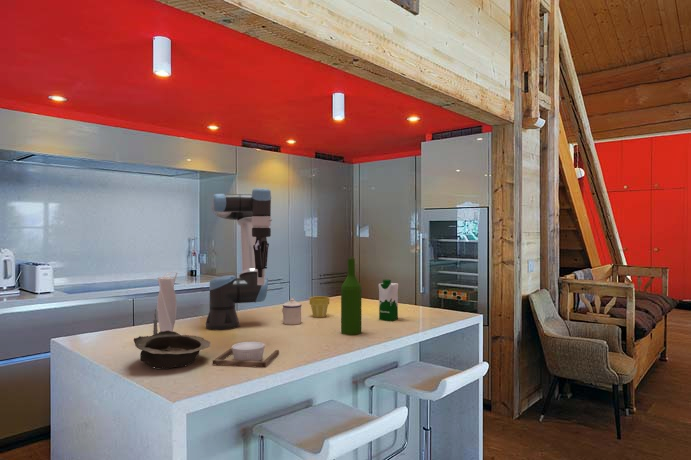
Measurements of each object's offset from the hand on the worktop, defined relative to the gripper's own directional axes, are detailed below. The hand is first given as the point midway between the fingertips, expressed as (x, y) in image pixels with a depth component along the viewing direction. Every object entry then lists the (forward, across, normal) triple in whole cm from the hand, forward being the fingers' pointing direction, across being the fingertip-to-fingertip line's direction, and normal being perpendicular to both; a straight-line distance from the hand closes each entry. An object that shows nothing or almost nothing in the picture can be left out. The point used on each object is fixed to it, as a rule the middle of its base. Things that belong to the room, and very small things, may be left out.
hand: (261, 284), depth 182 cm
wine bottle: (+23, +18, -35) cm, 46 cm away
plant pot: (+24, +52, -14) cm, 59 cm away
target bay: (+22, -26, -4) cm, 34 cm away
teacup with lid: (+24, +35, -3) cm, 43 cm away
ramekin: (+22, -27, -5) cm, 35 cm away
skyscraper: (+24, -4, +39) cm, 46 cm away
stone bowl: (+22, -33, +20) cm, 45 cm away
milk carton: (+24, +49, -50) cm, 74 cm away
